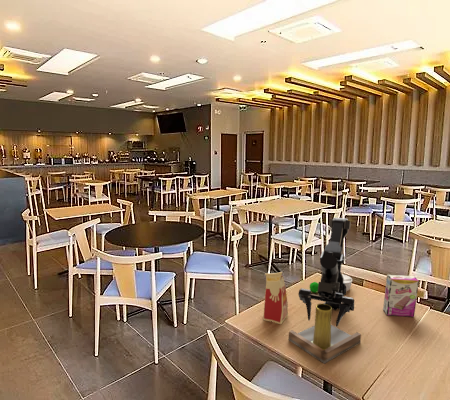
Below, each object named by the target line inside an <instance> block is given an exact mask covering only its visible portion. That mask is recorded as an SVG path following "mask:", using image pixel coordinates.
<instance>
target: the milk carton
mask: <svg viewBox="0 0 450 400" xmlns="http://www.w3.org/2000/svg"><path fill="white" fill-rule="evenodd" d="M264 276H265V282H266V283H265V293H264V304H263V305H264V306H263V318H262V319H263V321H267V322H271V321H272V323H274V322H275V323H274V324H279V325H282V324H283V322H285V320H286V319H287V317H288V314H289V308H288V307H289V306H288V305H289V304H288V295H287V289H286V283H285V278H284V275H283V271H280V272H274V273H264ZM286 316H287V317H286Z"/></svg>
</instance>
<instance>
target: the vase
mask: <svg viewBox="0 0 450 400" xmlns="http://www.w3.org/2000/svg"><path fill="white" fill-rule="evenodd" d="M332 315H333V309H332V307H331V306H330V305H327V304H323V303H318V304H316V305H315V317H314V326H315V327H314V338H313V344H315V345H317V346H318V347H320V348H321V349H323V350H325V349H327V348H329V347H331V325H332Z"/></svg>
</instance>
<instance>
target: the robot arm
mask: <svg viewBox="0 0 450 400" xmlns="http://www.w3.org/2000/svg"><path fill="white" fill-rule="evenodd" d="M351 223H352V222H351V221H350V220H349V218H346V217H345V218H343V217H342V218H341V217H333V218H331V219H329V228H330V231H331V233H330V238H329V243H328V244H326V245H324V250H323V251H322V252H321V254H320V257H319V263H320V264H319V265H320V269H321V277H320V281H318V292H317V294H316V293H313V292H312V291H311V290H310V289H307V288H302V287H301V288H300V289H299V290H298V293H297V294H298V297H299V300H300V301H302V303H304V304H305V307H306V312H307V321H309V322H310V320H311V316H312V315H311V313H312V300H316V301H320V302H322V304H327V305H330V306H331V307H332V311H338V313H337V318H336V322H335V327H336V328H338V326H339V323H340V322H341V320H342V319H343V317H344V316H345V315H346V313H350V312H352V311H355V298H354V297H349V296H347V291H346V285H345V283H344V278H343V276H342V274H343V273H342V264H344V263H345V261H346V257H345V255H344V253H343V251H344V240H345V238H346V237H347V235H348V234H349V230H351V226H352V224H351Z"/></svg>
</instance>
